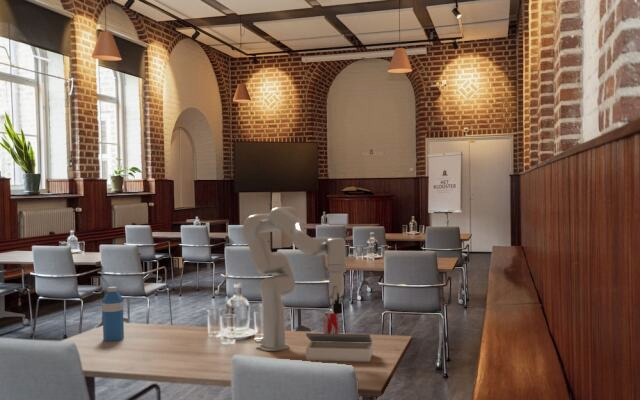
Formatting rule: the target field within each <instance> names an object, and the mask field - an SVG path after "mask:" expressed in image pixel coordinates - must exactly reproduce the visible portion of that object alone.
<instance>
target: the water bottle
mask: <svg viewBox="0 0 640 400" xmlns="http://www.w3.org/2000/svg"><path fill="white" fill-rule="evenodd" d="M101 299H102V330H103V331H102V333H103V334H102V335H103V336H102V337H103V339H102V340H103V341H104V340H105V342H117V340H118V341H122V340H123V338H124V339H125V335H124V334H125V332H124V331H125V329H124V327H125V326H124V323H125V322H124V298H123V296H122V295H121V294H120V293H119V291H118V287H117V286H109V287H107V292H106V294H104V297H103V298H101ZM121 339H122V340H121Z"/></svg>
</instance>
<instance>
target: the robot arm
mask: <svg viewBox="0 0 640 400" xmlns="http://www.w3.org/2000/svg"><path fill="white" fill-rule="evenodd" d="M299 214H300V213H299V212H298V210H297V209H296V208H295V207H293V206H278V207H274V208H272V209H271V210H270V211H269V213H268V212H267V213H255V214H251V215H249V216H248V217H247V218H246V219H245V220H244V223H243V226H242V231H243V232H242V233H243V237H244V239H245V241H246V244H247V246H248V248H249V250H250V254H251V257H252V260H253V263H254V265H255V266H254V267H255V268H256V271H257V273H258V274H259V275H262V276H266V275H272V276H268V277H266V278H264V279H263V280H262V281H261V283H260V286H259V292H260V296H261V301H262V321H263V322H262V331H263V333H262V334H263V337H261V338H260V337H259V338H258V337H255V338H254V341H253V342H254V343H255V344H261V345H259V349H260V350H261V351H266V352H268V351H269V352H279V351H285V350H287V349H289V348H290V347H289V343H287V342H286V322H285V321H286V320H285V305H284V302H283V300H282V298H281V297H285V296H289V295H291V294H293V293H294V292H295V290H296V280H295V278H294V277H295V276H294V275H293V272H292V268H291V266H290V262H289V260H288V259H287V256H286V255H284V253H282V252H279V251H275V252H272V251H271V248H270V246H269V243H268V241H267V239H266V238H265V237H264V236H263V234H262V233H271V232H277V231H281V232H283V233H284V234H286V235H287V236H288V237H290V239H291V241H292V244H293V245H294V247H296V249H298V250H299V251H300V252H302V253H303V254H305V255H306V256H309V257H317V256H325V255H326V257H327V258H326V260H327V264H326V265H327V266H326V267H327V273H329V277H328V281H329V282H328V297H330V298H331V297H332V298H333V300H332V301H333V309H332V310H333V311H334V313H337V314H342V313H343V306H342V305H343V303H342V296H343V295H344V290H345V289H344V288H345V286H344V282H345V281H344V273H346V272H347V259H346V257H347V256H346V252H347V251H346V240H345V238H343V237H330V236H317V237H312V236H309V235H308V234H306V233H305V232H304V231H305V227H306V226H305V225H306V224H305V221H303V220H302V219H300V215H299ZM273 274H274V275H273Z"/></svg>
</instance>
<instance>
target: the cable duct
mask: <svg viewBox="0 0 640 400" xmlns="http://www.w3.org/2000/svg"><path fill="white" fill-rule="evenodd" d="M305 357H306V358H305V360H306V361H316V360H318V361H319V362H320V361H321V362H323V361H325V362H326V361H327V362H355V363H356V362H358V363H359V362H361V363H362V362H366V363H367V362H369V363H370V362H371V359H372V357H373V342H372V343H369V342H319V341H310V342H309V344H308V345H307V346H306V347H305Z"/></svg>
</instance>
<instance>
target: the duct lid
mask: <svg viewBox="0 0 640 400" xmlns="http://www.w3.org/2000/svg"><path fill="white" fill-rule="evenodd" d="M305 335H306V338H308V340H309V341H310V342H357V343H372V344H373V339H372V337H371V335H370V334H368V333H367V334H366V333H359V334H358V333H355V334H353V333H350V334H349V333H339V334H324V333H311V332H310V333H309V332H308V333H307V332H306V334H305Z"/></svg>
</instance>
